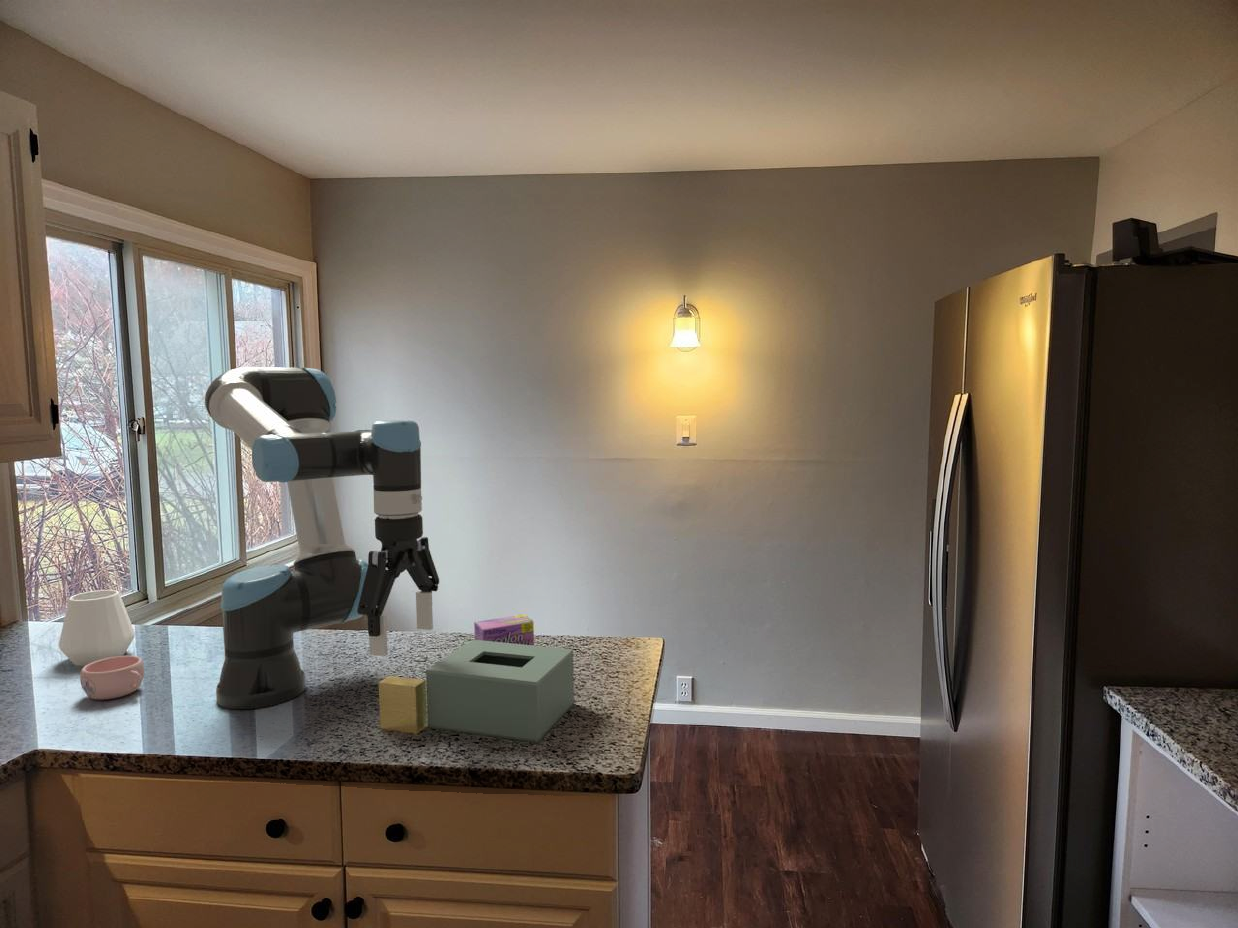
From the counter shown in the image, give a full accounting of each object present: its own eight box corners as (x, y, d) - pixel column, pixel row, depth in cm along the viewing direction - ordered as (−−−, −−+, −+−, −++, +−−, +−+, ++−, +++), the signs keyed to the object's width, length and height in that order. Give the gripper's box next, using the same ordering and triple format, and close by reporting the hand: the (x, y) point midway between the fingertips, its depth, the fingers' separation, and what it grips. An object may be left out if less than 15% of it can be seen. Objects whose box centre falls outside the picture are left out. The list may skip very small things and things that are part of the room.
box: (484, 689, 141) (482, 628, 140) (475, 679, 146) (473, 620, 145) (535, 679, 146) (534, 620, 145) (525, 670, 151) (524, 613, 150)
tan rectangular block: (380, 728, 125) (378, 682, 124) (391, 721, 128) (389, 675, 127) (416, 733, 123) (415, 686, 122) (426, 726, 126) (425, 680, 125)
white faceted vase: (148, 654, 163) (143, 591, 162) (77, 673, 152) (72, 606, 150) (118, 644, 170) (113, 584, 169) (48, 661, 159) (43, 597, 158)
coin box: (427, 727, 125) (425, 669, 124) (474, 691, 140) (472, 639, 139) (537, 742, 119) (536, 682, 118) (574, 703, 134) (573, 649, 133)
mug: (68, 701, 138) (66, 669, 137) (120, 681, 147) (118, 652, 147) (116, 709, 134) (113, 677, 133) (165, 688, 143) (163, 658, 143)
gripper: (372, 528, 110) (377, 669, 111) (456, 504, 133) (460, 620, 135) (329, 526, 112) (335, 664, 114) (419, 503, 135) (423, 617, 137)
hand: (403, 641), depth 124 cm, fingers open, 13 cm apart
